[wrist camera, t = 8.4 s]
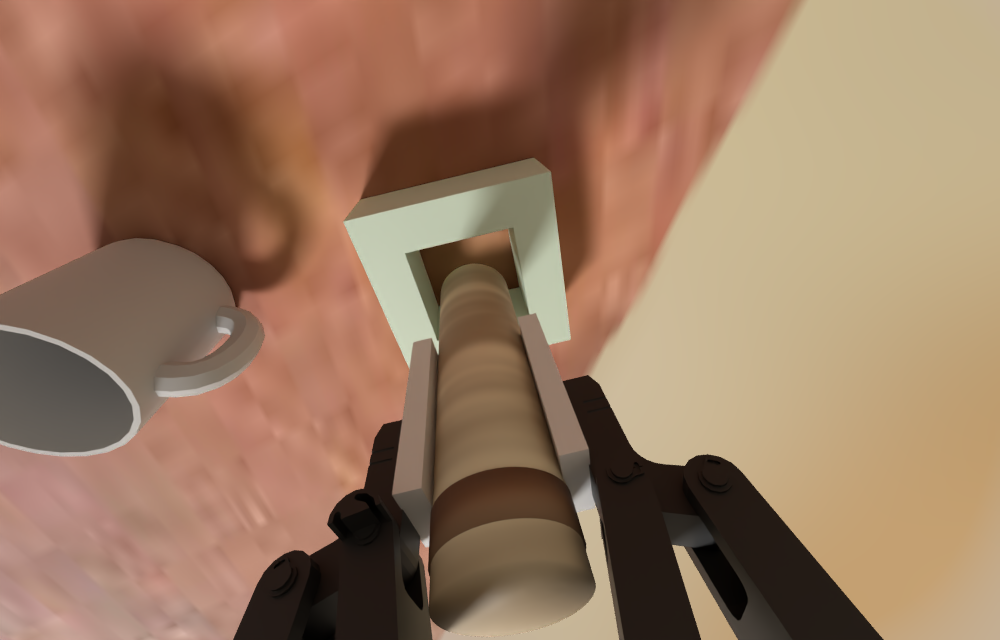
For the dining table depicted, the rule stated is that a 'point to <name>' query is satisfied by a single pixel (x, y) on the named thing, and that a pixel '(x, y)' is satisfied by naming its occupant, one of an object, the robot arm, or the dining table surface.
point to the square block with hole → (456, 216)
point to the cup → (114, 345)
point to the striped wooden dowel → (496, 477)
